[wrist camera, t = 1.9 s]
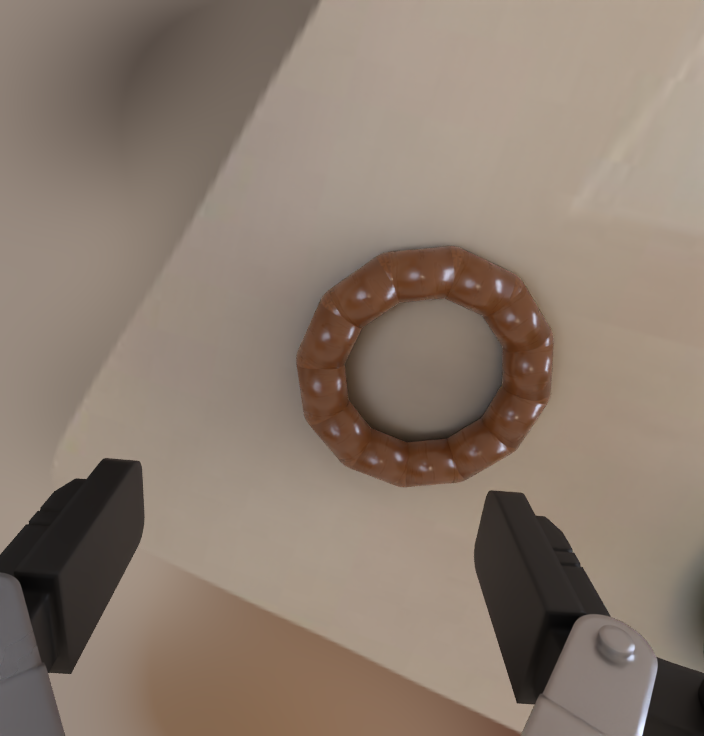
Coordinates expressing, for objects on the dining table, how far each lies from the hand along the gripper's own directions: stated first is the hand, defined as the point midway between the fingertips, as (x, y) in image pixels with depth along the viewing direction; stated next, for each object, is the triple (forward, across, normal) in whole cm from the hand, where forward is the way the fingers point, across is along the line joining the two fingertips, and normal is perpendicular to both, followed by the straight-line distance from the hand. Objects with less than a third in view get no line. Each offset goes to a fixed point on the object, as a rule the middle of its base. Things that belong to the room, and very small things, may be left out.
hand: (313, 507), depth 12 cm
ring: (+8, -4, 0) cm, 9 cm away
